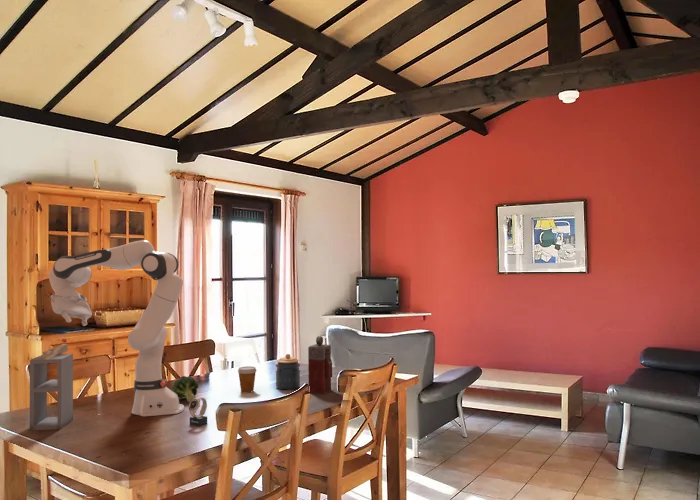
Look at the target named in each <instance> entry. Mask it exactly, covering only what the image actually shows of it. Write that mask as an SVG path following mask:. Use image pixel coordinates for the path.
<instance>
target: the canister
mask: <svg viewBox="0 0 700 500" xmlns="http://www.w3.org/2000/svg"><path fill="white" fill-rule="evenodd" d="M276 361H277V363H276V364H275V367H276V371H275V387H276V389H277V388H279V389H278V390H282V389H291V390H295V389H294V388H297V387H298V388H297V389H300V388H301V369H300V367H301V364H300V363H299V361H300V359H298V358H296V357H295V356H294V357H293V356H291V354H290V353H286V354H285V357H284V356H283V357H280V358H279V359H278V360H276Z"/></svg>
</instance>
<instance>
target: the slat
mask: <svg viewBox="0 0 700 500" xmlns="http://www.w3.org/2000/svg"><path fill="white" fill-rule="evenodd" d="M68 348H69V344H68V343H64V344H63V343H62V344H60V345H58V346H55V347H52V348H50V349H48V350H45V351H42V355H43V360H47V359H50V358H53V357H55V356H57V355H60V354H65V353H66V352H69V351H68V350H69V349H68Z"/></svg>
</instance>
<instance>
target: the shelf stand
mask: <svg viewBox="0 0 700 500" xmlns="http://www.w3.org/2000/svg"><path fill="white" fill-rule="evenodd" d="M48 364H57V373H56V374H57V379H55V378H53V379H49V380H48V373H47V372H48ZM51 392H52V393H55V392H57V393H56V395H57V397H56V398H57V402H56V405H57V408H56V409H57V410H56V411H57V416H48V393H51ZM73 420H74V353H62V354H60V355H57V356H55V357H53V358H50V359H47V360H43V354H41V355H39V356H36V357H33V358H31V359H29V431H40V430H41V431H42V430H43V431H44V430H62V429H63V428H64V427H66V426H67V425H69V424H70V423H71V422H72V421H73Z"/></svg>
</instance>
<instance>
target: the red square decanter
mask: <svg viewBox="0 0 700 500" xmlns="http://www.w3.org/2000/svg"><path fill="white" fill-rule="evenodd" d="M315 343H316V344H312V345H310V346H308V350H307V351H308V353H307V354H308V360H307V361H308V367H307V369H308V370H307V371H308V387H309V386H310V392H311V393H312V394H322V395H323V394H324V395H325V394H327V393H329V392H330V391H332V379H333V362H332V361H333V360H332V345H330V344H325V343H324V337H323V336H322V335H321V336H320V335H319V336H318V335H317V336H316V339H315ZM323 343H324V344H323ZM311 393H310V394H311Z"/></svg>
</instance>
